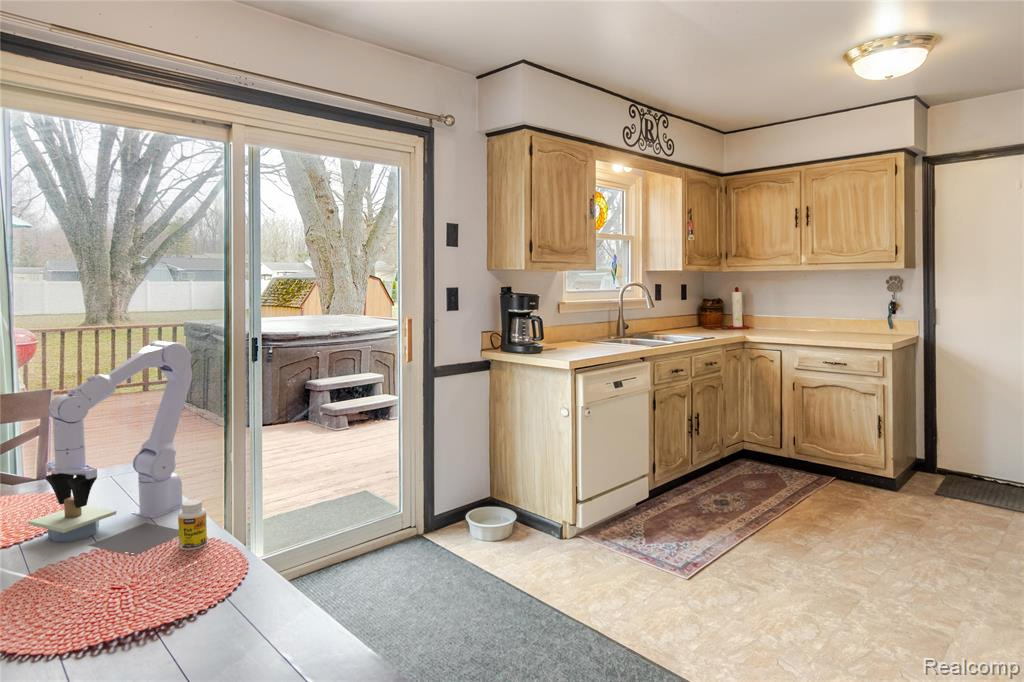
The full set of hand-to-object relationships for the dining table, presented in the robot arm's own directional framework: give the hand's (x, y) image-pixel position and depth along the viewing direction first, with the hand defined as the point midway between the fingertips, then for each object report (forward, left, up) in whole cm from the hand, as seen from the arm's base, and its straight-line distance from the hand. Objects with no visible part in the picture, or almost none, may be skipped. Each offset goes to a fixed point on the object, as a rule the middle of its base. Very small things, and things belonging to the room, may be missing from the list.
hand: (72, 504), depth 142 cm
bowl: (0, 0, -7) cm, 7 cm away
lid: (0, 0, -3) cm, 3 cm away
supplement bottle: (-6, +30, -8) cm, 32 cm away
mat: (-4, +16, -7) cm, 18 cm away
